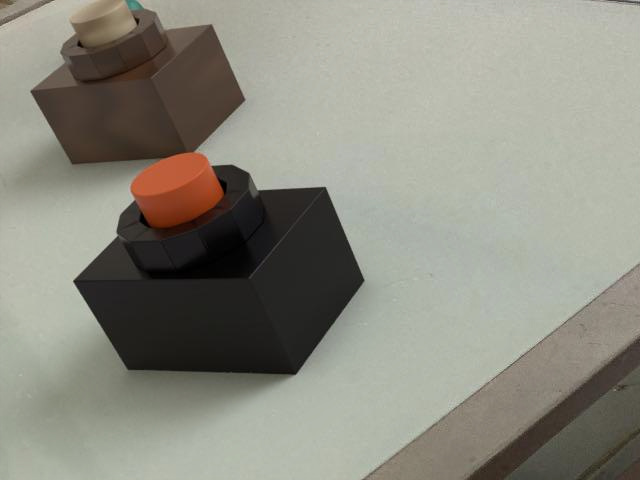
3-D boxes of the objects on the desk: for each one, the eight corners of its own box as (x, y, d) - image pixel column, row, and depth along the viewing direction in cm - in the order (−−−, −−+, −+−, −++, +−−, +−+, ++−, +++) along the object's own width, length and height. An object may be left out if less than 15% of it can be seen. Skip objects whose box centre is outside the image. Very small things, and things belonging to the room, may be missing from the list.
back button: (72, 53, 80) (57, 25, 78) (105, 27, 82) (91, -1, 81) (116, 48, 78) (102, 19, 77) (148, 21, 80) (135, -7, 79)
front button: (133, 232, 57) (113, 197, 55) (176, 188, 59) (158, 154, 58) (197, 230, 55) (179, 194, 54) (239, 185, 58) (222, 149, 56)
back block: (71, 165, 85) (15, 66, 80) (131, 110, 90) (81, 14, 84) (189, 157, 80) (137, 51, 75) (246, 100, 85) (200, -3, 80)
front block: (127, 370, 62) (52, 250, 57) (204, 282, 67) (141, 164, 62) (296, 375, 57) (231, 245, 52) (365, 281, 62) (312, 153, 57)
